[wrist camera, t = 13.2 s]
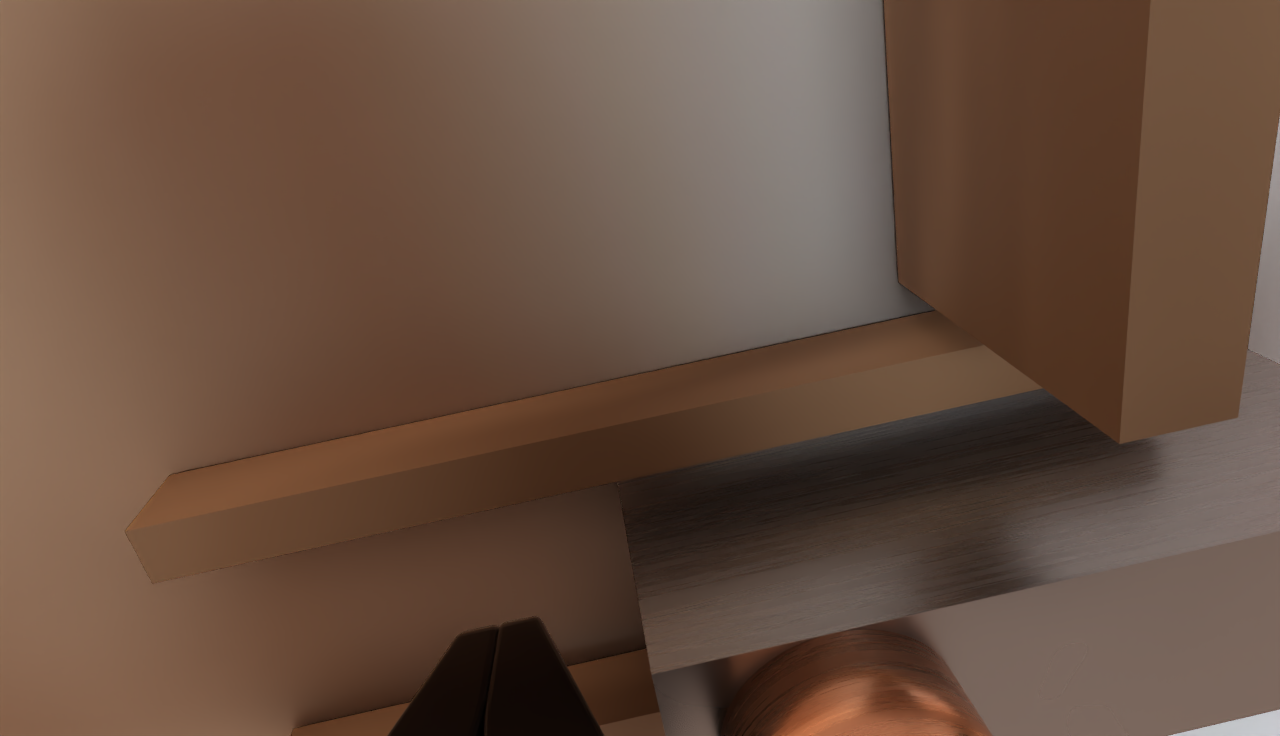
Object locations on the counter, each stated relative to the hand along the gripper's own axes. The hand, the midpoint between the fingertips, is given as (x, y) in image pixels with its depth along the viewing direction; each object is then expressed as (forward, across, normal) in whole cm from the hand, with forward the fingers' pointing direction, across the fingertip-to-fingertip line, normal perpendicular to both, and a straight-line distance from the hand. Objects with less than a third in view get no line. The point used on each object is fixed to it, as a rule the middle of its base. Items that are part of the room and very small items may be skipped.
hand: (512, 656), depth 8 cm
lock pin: (+1, -5, 0) cm, 5 cm away
